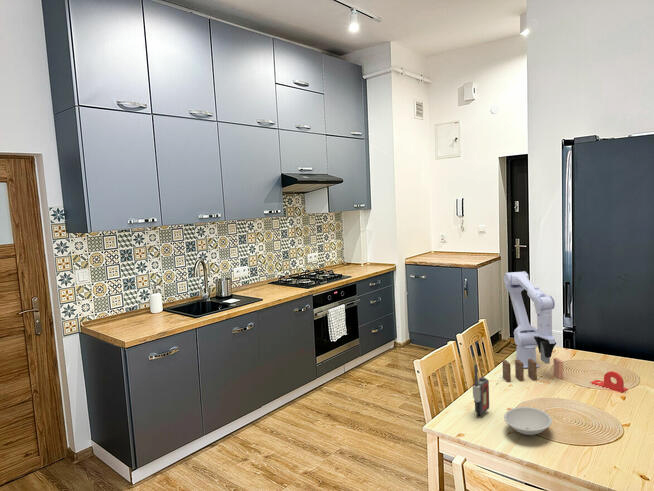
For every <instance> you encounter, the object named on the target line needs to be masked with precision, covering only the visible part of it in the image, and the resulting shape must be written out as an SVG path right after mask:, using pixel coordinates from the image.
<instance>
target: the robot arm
mask: <svg viewBox="0 0 654 491" xmlns="http://www.w3.org/2000/svg"><path fill="white" fill-rule="evenodd" d="M503 283H504V287H505V290H506V292H507V293H508V292H509V296H510V300H511V305H512V308H513V312H514V315H515V320H516V324H517V327H516V328H515V329H513V330H514V331H513V336H514V337H513V340H514V343H515V345H516V349H515V350H516V351H515V352H516V360H520V361H521V362H522V363H523V366H524V369H526V368H527V369H528V359H532V360H533V361H535V362H536V363H537V359H536V358H537V349H538V353H539V354H541V349H540V342H541V343H542V345H543V348H544V354H545V357H546V358H548V357H550V358H551V357H552V354H553V350H554V348H555V346H556V345H557V342H556V338H554V335H553V310H554V309H555V299H554V298H553V297H552V295H547V294H545V293H544V292H543V290H541V289H540V287H539V286H535V285H534V284H533V283H532V281H530V277H529V273H527V271H525V270H523V271H514V272H513V271H511V272H505V273H504V275H503ZM524 290H525V291H526V292H527V293H526V294H527V296H528V297H529V299H530V300H531V301H532V302H533V305H534V308H535V310H534V311H535V314H536V327H535V326H534V325H531V324H530V321H529V317H528V314H527V309H526V306H525V304H524V299H523V295H522V292H523V291H524ZM536 348H537V349H536ZM537 368H540V365H539V364H538V363H537Z"/></svg>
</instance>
